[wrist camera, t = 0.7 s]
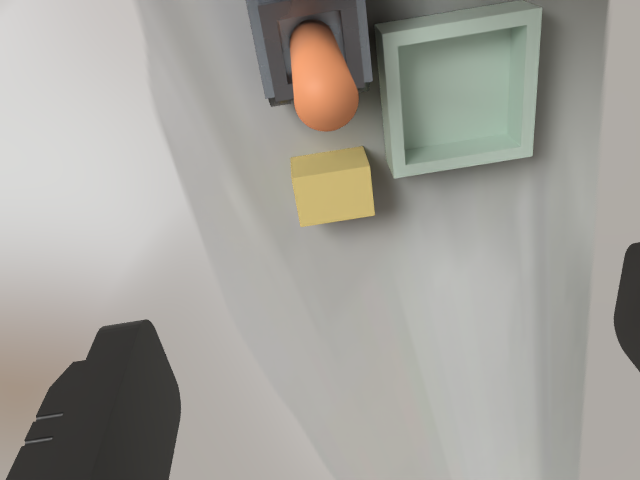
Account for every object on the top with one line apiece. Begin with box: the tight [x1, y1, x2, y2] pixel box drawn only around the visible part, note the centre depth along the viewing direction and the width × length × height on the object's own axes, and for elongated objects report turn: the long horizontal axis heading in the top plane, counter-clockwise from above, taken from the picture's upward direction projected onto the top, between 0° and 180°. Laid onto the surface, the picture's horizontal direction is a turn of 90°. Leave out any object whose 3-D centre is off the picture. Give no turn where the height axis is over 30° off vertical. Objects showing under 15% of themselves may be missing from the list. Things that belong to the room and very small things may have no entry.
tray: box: [374, 0, 542, 179], centre depth 34 cm, size 9×9×3 cm
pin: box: [290, 19, 359, 131], centre depth 24 cm, size 2×2×10 cm
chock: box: [291, 146, 375, 227], centre depth 37 cm, size 4×5×4 cm
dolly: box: [246, 0, 373, 107], centre depth 29 cm, size 9×6×8 cm, turn 8°
